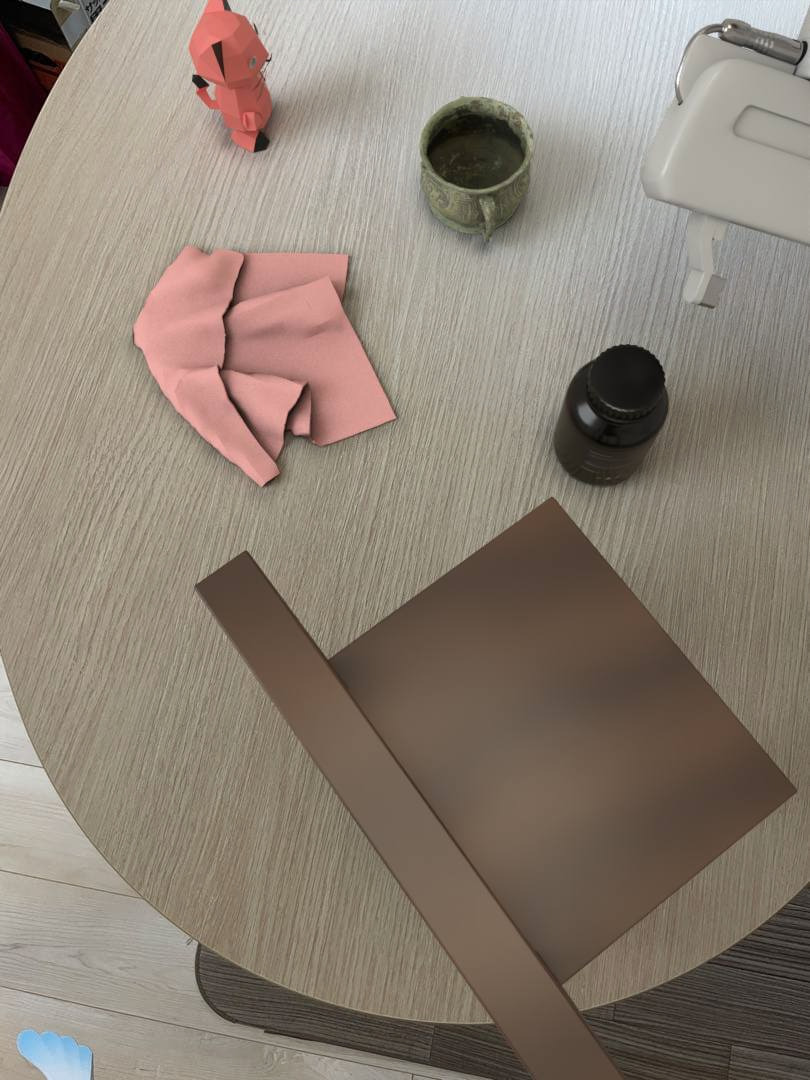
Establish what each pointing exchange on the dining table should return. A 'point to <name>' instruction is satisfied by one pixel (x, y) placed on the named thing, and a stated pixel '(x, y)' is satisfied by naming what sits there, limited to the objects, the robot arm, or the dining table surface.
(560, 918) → the shelf
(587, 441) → the supplement bottle
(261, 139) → the cat figurine
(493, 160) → the vessel
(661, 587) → the dining table surface
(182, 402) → the cloth
